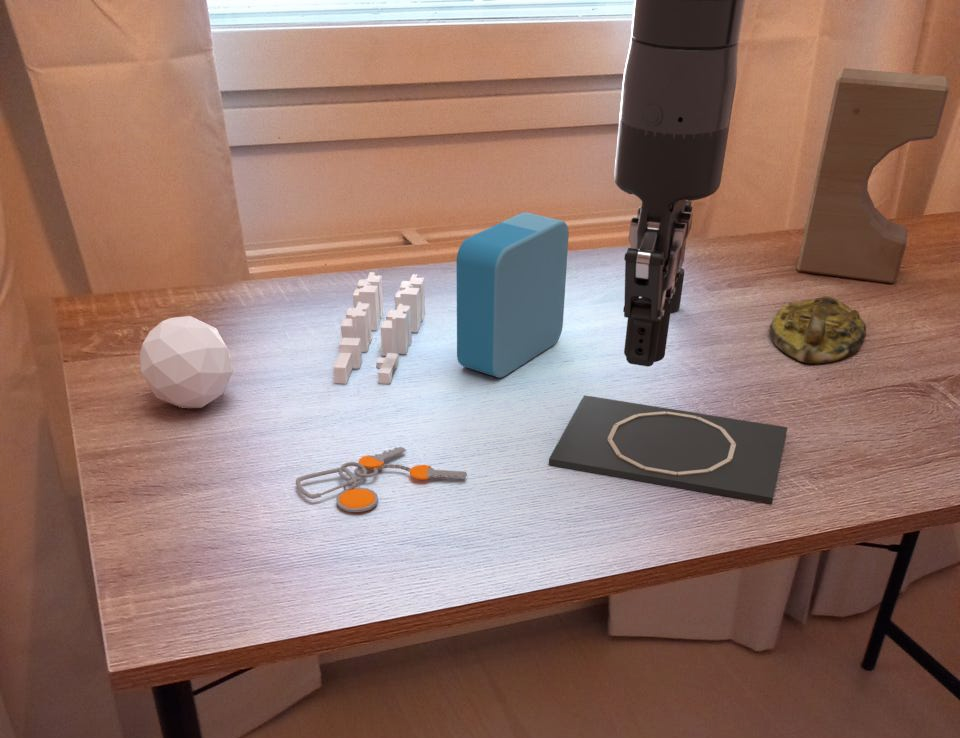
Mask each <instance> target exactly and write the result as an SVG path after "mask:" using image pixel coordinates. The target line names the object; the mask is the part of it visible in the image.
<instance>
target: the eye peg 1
mask: <svg viewBox="0 0 960 738" xmlns="http://www.w3.org/2000/svg"><path fill="white" fill-rule="evenodd" d="M639 301H642V302H649V303H651V299H649V298H645V297H644V298H641V297H639ZM664 310H665V311H664V316H662V319H661V323H660V330H659V338H658V345H657V353H656V359H655V361H654V363H657V362H660V361H662V360H663V359H664V358H665V356H666V350H667V349H666V348H667V342H668V341H667V340H668V336H669V335H668V334H669V327H670V321H671V320H670V319H671V314H672V313H671V305H670V304H669V303H668V302H667V301H665V302H664ZM630 319H631V318H627V323H626V331H625V340H624V347H623V348H624V350H623V354H624V356H625V357H626V354H627V345H628V337H629V328H630Z"/></svg>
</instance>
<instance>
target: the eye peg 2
mask: <svg viewBox="0 0 960 738" xmlns="http://www.w3.org/2000/svg"><path fill="white" fill-rule="evenodd" d="M685 272H686V271H685V269H684V268H683V267H681V270H680V277H679V278H678V280H677V282H675V285H674V287H675V293H674V294H673V296H672V298H666V299H668V300H670V303H669V304H670V305H671V313H670V314H672V313H676V312H678V311H680V307H681V300H682V295H683V292H682V291H683V286H684V280H685V279H684V278H685Z"/></svg>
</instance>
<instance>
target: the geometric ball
mask: <svg viewBox="0 0 960 738" xmlns="http://www.w3.org/2000/svg"><path fill="white" fill-rule="evenodd" d="M138 357H139V367H140V368H139V370H140V374H141V376H142V377H143V379H144V380H145V382H146V383H147V385H148V387H149V389H150V390H151V392H152V393H153V395H154V397H155V398H156V399H158V400H161V401H163V402H165V403H168V404H170V405H173V406H175V407H177V406H178V408H180V407H181V408H180V409H182V407H183V408H187V409H201V408H204V407H206V405H208V404H210V403H212V401H214V400H216V399H218V398H219V397H220V396H222V395H224V392H225V390H226V388H227V386H228V383H229V381H230V379H231V377H232V374H233V372H234V370H233V363H232V355H231V352H230V350H229V348H228V347H227V344H226V343H225V341H224V339H223V338H222V336H221V334H220V332H219V331H218V329H217V328H216V327H215V326H212V325H211V324H208V323H207V322H204V321H202V320H200V319H197V318H196V317H194V316H192V315H186V316H176V317H169V318H167V319H164V320H162V321H160V322H159V323H158V324H157V325H156V326H154V327H153V328H152V329H151V330H150V331H149V332H148V334H147V335H146V337H145V338H144V340H143V342H142V344H141V348H140V352H139V355H138Z"/></svg>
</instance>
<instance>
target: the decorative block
mask: <svg viewBox="0 0 960 738" xmlns="http://www.w3.org/2000/svg"><path fill="white" fill-rule="evenodd" d="M949 92H950V80H949V78H948V77H947V76H946V75H934V74H921V73H908V72H895V71H882V70H872V69H871V70H870V69H857V68H845V67H844V68H842V69H841V70H840V71H839V72H838V76H837V78H836V81H835V86H834V89H833V95H832V99H831V104H830V109H829V113H828V118H827V122H826V128H825V132H824V137H823V142H822V146H821V150H820V156H819V162H818V166H817V170H816V175H815V180H814V184H813V190H812V194H811V199H810V203H809V208H808V213H807V217H806V224H805V227H804V230H803V231H804V232H803V237H802V241H801V246H800V251H799V255H798V260H797V265H796V269H797V271H798V272H799V273H806V274H815V275H822V276H828V277H838V278H844V279H854V280H860V281H868V282H875V283H882V284H883V283H884V284H891V285H893V284H894V283H896V282H897V280H898V276H899V272H900V269H901V265H902V262H903V259H904V254H905V251H906V247H907V242H908V233H909V232H908V228H907V227H906V226H905V225H902V224H900V223H897V222H895V221H891V220H888V219H887V217H885V215H884V214H882V212H880V211H879V209H877V208H876V206H875V204H874V202H873V199H872V197H871V194H870V193H869V191H868V188H869V187H868V186H869V180H870V177H871V175H872V173H873V170H874V168H875V167H876V166H877V165H878V164H879V163H880V162H882V161H883V160H884V159H885V158H886V157H887V156H888V155H889V153H891V152H893V151H895V150H897V149H899V148H901V147H902V146H904V145H906V144H908V143H909V142H915V141H917V142H918V141H924V140H932V139H934V138H935V137H936V136H937V135H938V131H939V128H940V124H941V121H942V116H943V113H944V110H945V106H946V103H947V99H948V96H949Z"/></svg>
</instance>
